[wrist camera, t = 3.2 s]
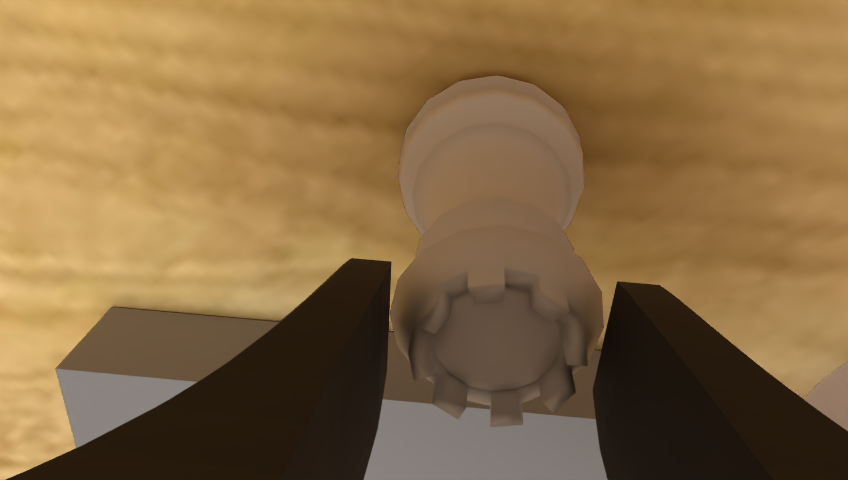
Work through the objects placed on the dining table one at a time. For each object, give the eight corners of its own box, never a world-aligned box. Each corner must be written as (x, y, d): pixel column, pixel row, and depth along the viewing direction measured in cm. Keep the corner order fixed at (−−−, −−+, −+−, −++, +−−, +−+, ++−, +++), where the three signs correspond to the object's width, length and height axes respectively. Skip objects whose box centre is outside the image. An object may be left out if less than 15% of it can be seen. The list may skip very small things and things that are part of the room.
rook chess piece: (481, 268, 18) (481, 514, 10) (364, 153, 16) (276, 343, 9) (617, 166, 16) (727, 375, 9) (500, 29, 15) (518, 145, 8)
